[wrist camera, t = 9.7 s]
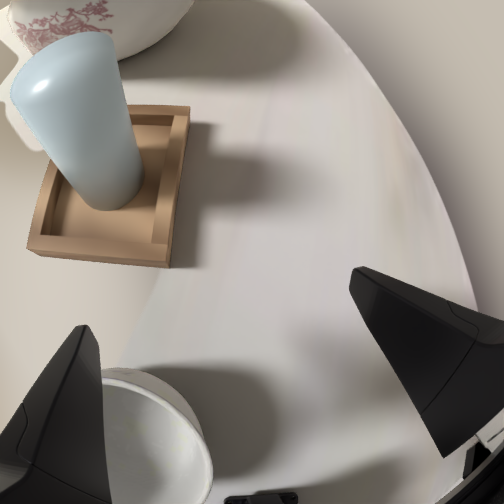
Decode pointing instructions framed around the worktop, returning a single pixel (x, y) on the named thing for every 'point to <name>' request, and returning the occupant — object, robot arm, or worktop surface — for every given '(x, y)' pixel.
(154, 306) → the worktop surface
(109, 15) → the chamber pot
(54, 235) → the tray
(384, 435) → the worktop surface
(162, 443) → the teacup
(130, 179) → the pale blue rounded cylinder
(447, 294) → the worktop surface
